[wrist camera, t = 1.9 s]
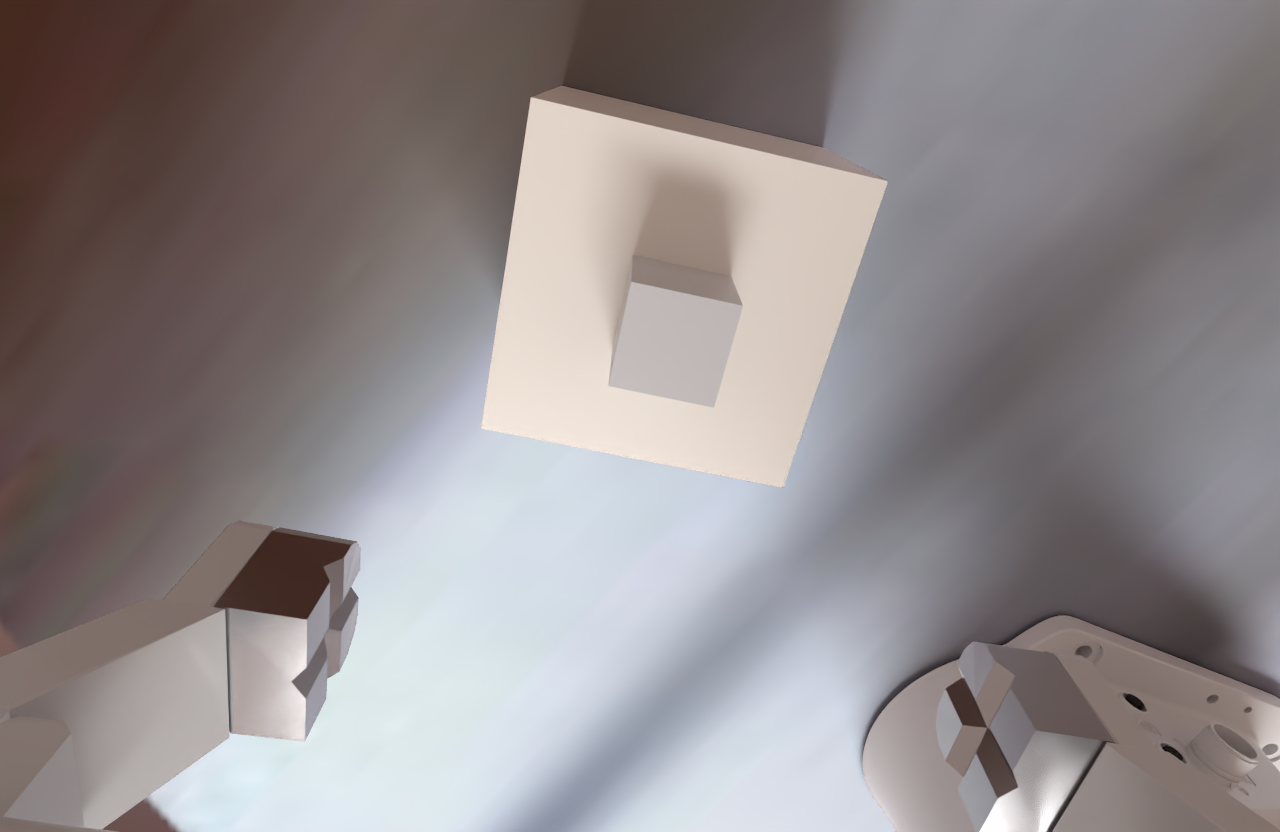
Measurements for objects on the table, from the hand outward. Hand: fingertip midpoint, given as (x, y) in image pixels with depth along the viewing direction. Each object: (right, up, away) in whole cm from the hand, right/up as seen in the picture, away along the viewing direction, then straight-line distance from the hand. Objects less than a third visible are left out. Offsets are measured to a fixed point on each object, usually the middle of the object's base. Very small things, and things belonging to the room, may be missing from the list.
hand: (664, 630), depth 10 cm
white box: (+1, +10, +21) cm, 23 cm away
